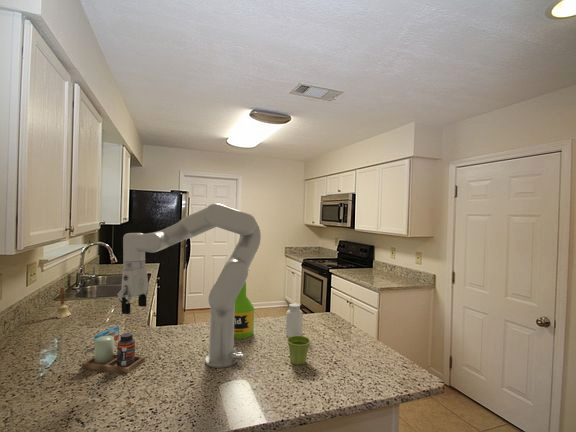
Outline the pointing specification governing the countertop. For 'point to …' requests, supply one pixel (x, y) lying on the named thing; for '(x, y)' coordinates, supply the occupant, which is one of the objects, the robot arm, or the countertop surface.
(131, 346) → the supplement bottle
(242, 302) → the spray bottle
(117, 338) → the yogurt
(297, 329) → the pill bottle
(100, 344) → the pale green cylinder
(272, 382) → the countertop surface
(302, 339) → the plant pot
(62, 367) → the countertop surface
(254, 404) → the countertop surface
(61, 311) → the hand bell
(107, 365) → the caddy
